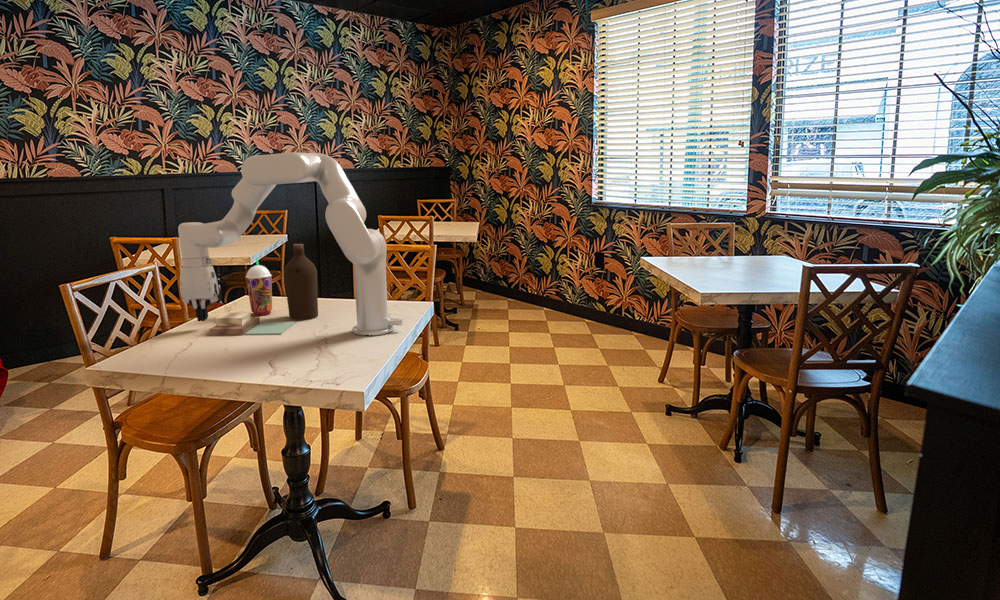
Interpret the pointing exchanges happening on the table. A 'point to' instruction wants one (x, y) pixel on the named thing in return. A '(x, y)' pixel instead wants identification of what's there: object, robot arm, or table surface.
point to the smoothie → (259, 289)
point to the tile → (233, 319)
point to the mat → (270, 328)
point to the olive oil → (301, 286)
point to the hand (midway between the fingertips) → (202, 320)
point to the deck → (235, 328)
